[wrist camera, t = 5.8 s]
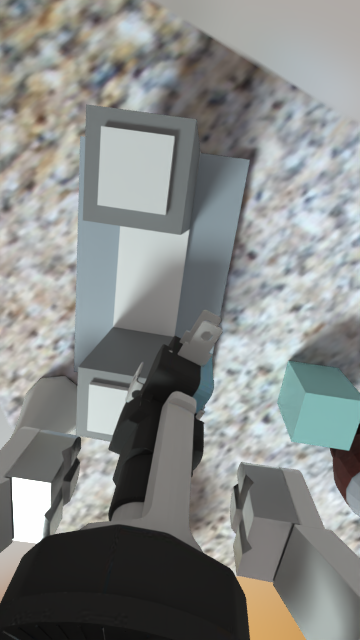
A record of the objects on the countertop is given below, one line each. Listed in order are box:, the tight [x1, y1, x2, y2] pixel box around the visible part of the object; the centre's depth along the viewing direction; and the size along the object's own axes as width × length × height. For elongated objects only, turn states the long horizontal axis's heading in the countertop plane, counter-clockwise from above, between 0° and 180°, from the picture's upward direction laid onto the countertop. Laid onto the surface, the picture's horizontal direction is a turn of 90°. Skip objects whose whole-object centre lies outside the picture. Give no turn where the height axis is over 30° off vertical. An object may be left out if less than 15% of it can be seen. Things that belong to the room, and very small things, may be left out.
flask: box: [10, 376, 77, 439], centre depth 30 cm, size 7×7×10 cm
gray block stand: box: [74, 105, 250, 442], centre depth 24 cm, size 14×22×10 cm, turn 172°
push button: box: [0, 310, 250, 640], centre depth 9 cm, size 7×5×10 cm
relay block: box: [277, 361, 360, 451], centre depth 29 cm, size 5×5×6 cm
